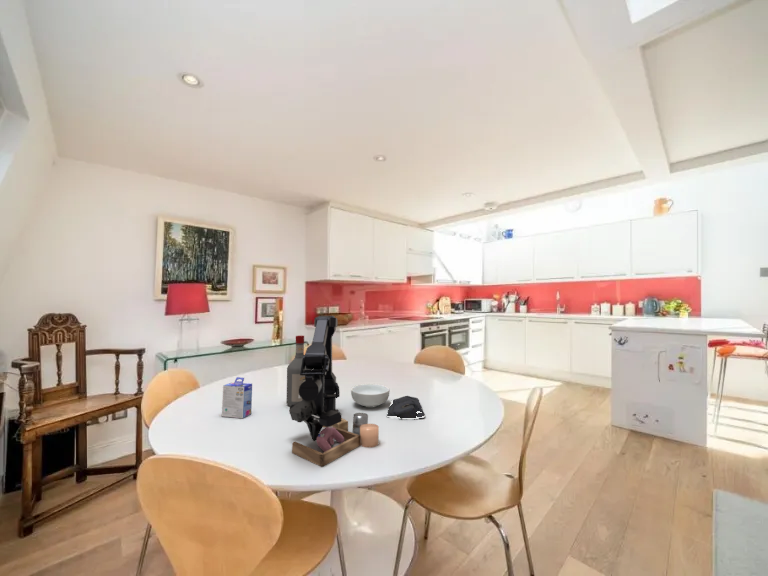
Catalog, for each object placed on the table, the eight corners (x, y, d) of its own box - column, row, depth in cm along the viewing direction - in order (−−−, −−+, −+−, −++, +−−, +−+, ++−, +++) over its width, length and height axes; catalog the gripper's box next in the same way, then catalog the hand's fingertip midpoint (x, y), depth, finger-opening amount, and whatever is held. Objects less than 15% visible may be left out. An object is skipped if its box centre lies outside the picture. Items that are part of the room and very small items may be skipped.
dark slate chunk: (423, 403, 139) (423, 392, 139) (425, 421, 117) (425, 409, 117) (389, 402, 140) (389, 391, 140) (385, 420, 118) (385, 407, 119)
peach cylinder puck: (368, 437, 102) (368, 422, 103) (382, 442, 99) (382, 426, 99) (355, 443, 98) (356, 427, 98) (370, 449, 94) (370, 432, 94)
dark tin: (353, 429, 108) (354, 412, 108) (367, 430, 108) (368, 413, 108) (351, 435, 103) (352, 416, 103) (365, 436, 103) (366, 418, 103)
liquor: (313, 405, 134) (314, 336, 136) (293, 409, 128) (294, 337, 130) (303, 400, 141) (304, 334, 143) (284, 404, 135) (285, 335, 137)
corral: (331, 434, 104) (331, 425, 104) (360, 445, 96) (360, 435, 97) (292, 452, 91) (292, 442, 92) (321, 466, 84) (322, 455, 84)
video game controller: (334, 445, 100) (325, 425, 101) (346, 440, 99) (337, 419, 100) (320, 460, 90) (311, 437, 91) (333, 455, 89) (324, 432, 90)
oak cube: (341, 429, 109) (341, 417, 109) (348, 432, 106) (348, 421, 106) (331, 432, 106) (331, 420, 106) (338, 436, 103) (338, 424, 103)
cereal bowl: (359, 413, 124) (360, 396, 124) (345, 402, 139) (345, 386, 139) (396, 407, 132) (396, 390, 132) (379, 396, 147) (379, 381, 147)
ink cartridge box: (252, 413, 124) (253, 377, 124) (243, 419, 118) (244, 380, 119) (230, 412, 125) (231, 376, 126) (221, 417, 120) (222, 379, 121)
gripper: (275, 391, 97) (274, 441, 97) (315, 403, 86) (314, 460, 86) (303, 384, 106) (303, 430, 106) (342, 393, 95) (342, 445, 95)
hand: (314, 440), depth 98 cm, fingers closed
